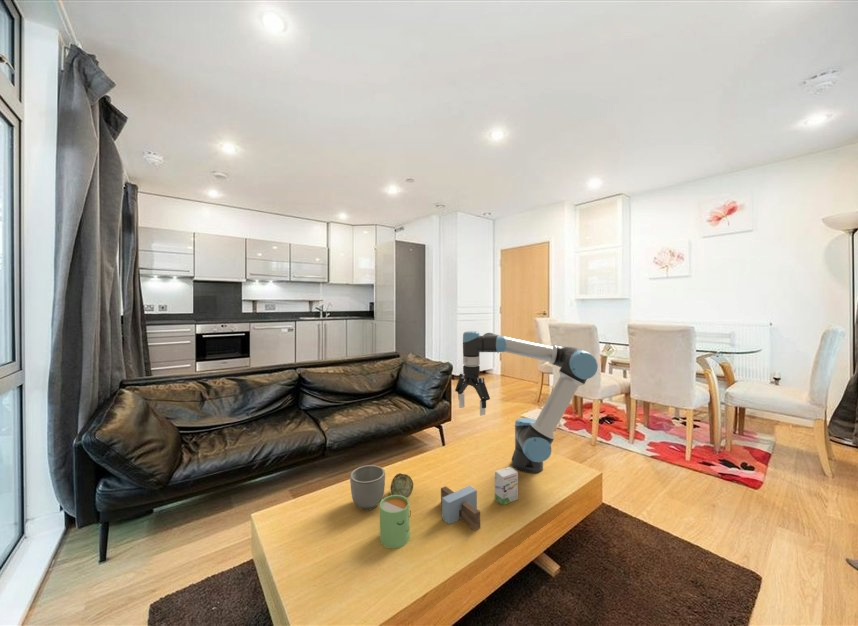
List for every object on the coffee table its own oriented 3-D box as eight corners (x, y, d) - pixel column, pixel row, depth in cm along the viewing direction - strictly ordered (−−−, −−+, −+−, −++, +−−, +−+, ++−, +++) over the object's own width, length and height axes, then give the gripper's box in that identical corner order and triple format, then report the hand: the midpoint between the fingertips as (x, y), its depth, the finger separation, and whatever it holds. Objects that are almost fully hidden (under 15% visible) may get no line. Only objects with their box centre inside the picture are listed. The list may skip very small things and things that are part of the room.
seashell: (418, 491, 140) (418, 468, 140) (408, 507, 129) (408, 482, 129) (396, 487, 144) (396, 464, 143) (384, 502, 133) (384, 477, 133)
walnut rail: (445, 500, 133) (445, 486, 133) (480, 527, 117) (480, 511, 117) (441, 502, 132) (441, 488, 132) (475, 530, 116) (475, 513, 116)
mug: (398, 553, 105) (398, 516, 105) (374, 540, 111) (373, 506, 111) (419, 530, 116) (419, 497, 116) (396, 520, 122) (396, 488, 121)
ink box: (502, 505, 130) (502, 476, 130) (494, 499, 134) (494, 471, 134) (518, 499, 134) (518, 471, 134) (510, 493, 138) (510, 466, 138)
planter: (391, 499, 134) (391, 468, 134) (372, 520, 122) (372, 486, 121) (364, 491, 140) (363, 462, 140) (343, 510, 127) (342, 477, 127)
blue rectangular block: (469, 505, 130) (469, 485, 130) (476, 510, 127) (476, 490, 127) (442, 518, 122) (442, 497, 122) (448, 524, 119) (448, 503, 119)
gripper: (447, 362, 157) (448, 406, 157) (485, 370, 137) (486, 420, 137) (459, 360, 161) (459, 403, 162) (497, 368, 141) (498, 416, 142)
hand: (471, 411), depth 150 cm, fingers open, 13 cm apart
